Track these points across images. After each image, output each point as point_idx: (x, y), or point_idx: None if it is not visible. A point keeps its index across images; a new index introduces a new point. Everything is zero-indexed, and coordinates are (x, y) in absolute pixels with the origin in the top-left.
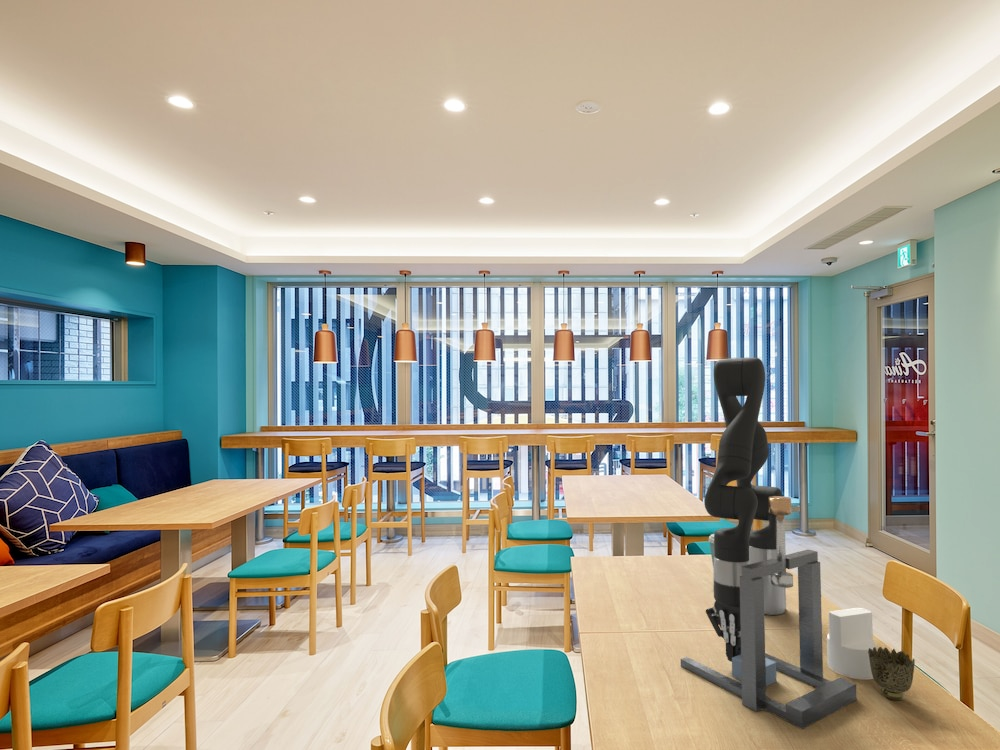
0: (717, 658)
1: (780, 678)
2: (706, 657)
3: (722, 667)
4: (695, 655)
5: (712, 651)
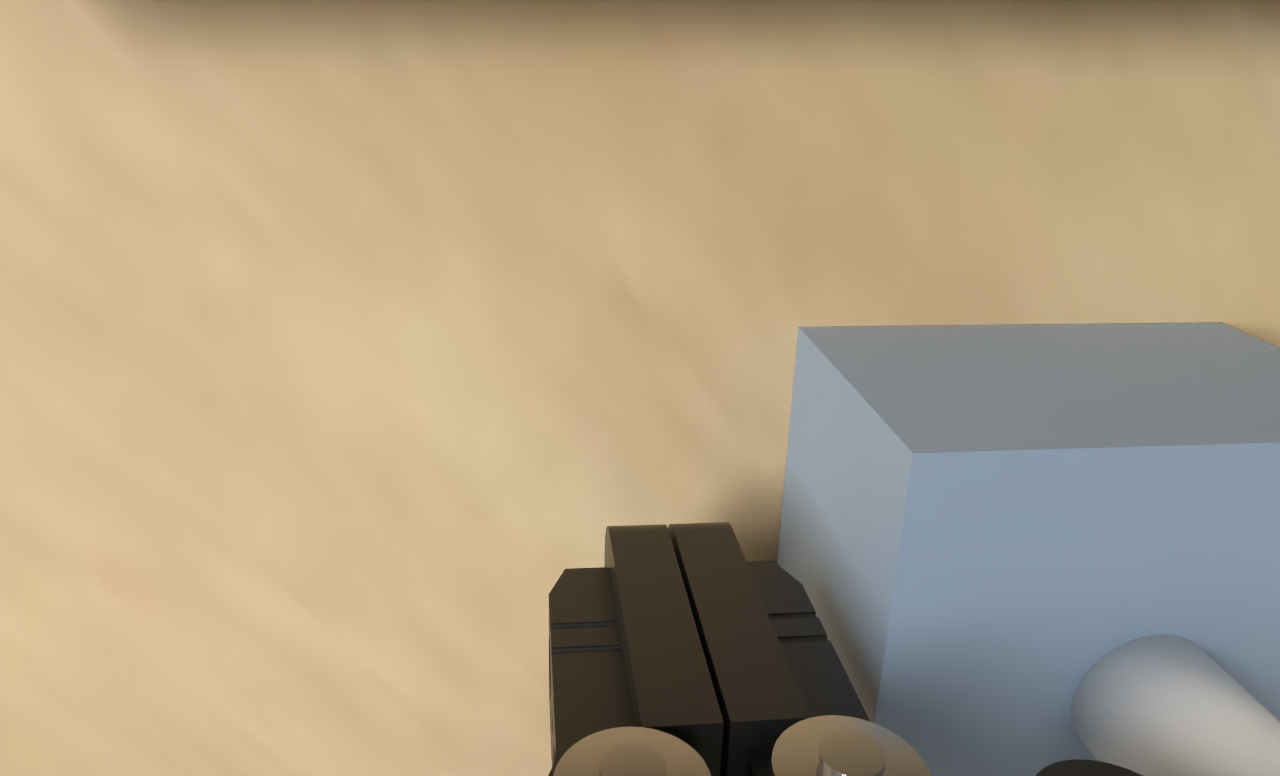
0: (272, 470)
1: (1235, 193)
2: (163, 586)
3: (529, 623)
4: (30, 674)
5: (7, 334)
